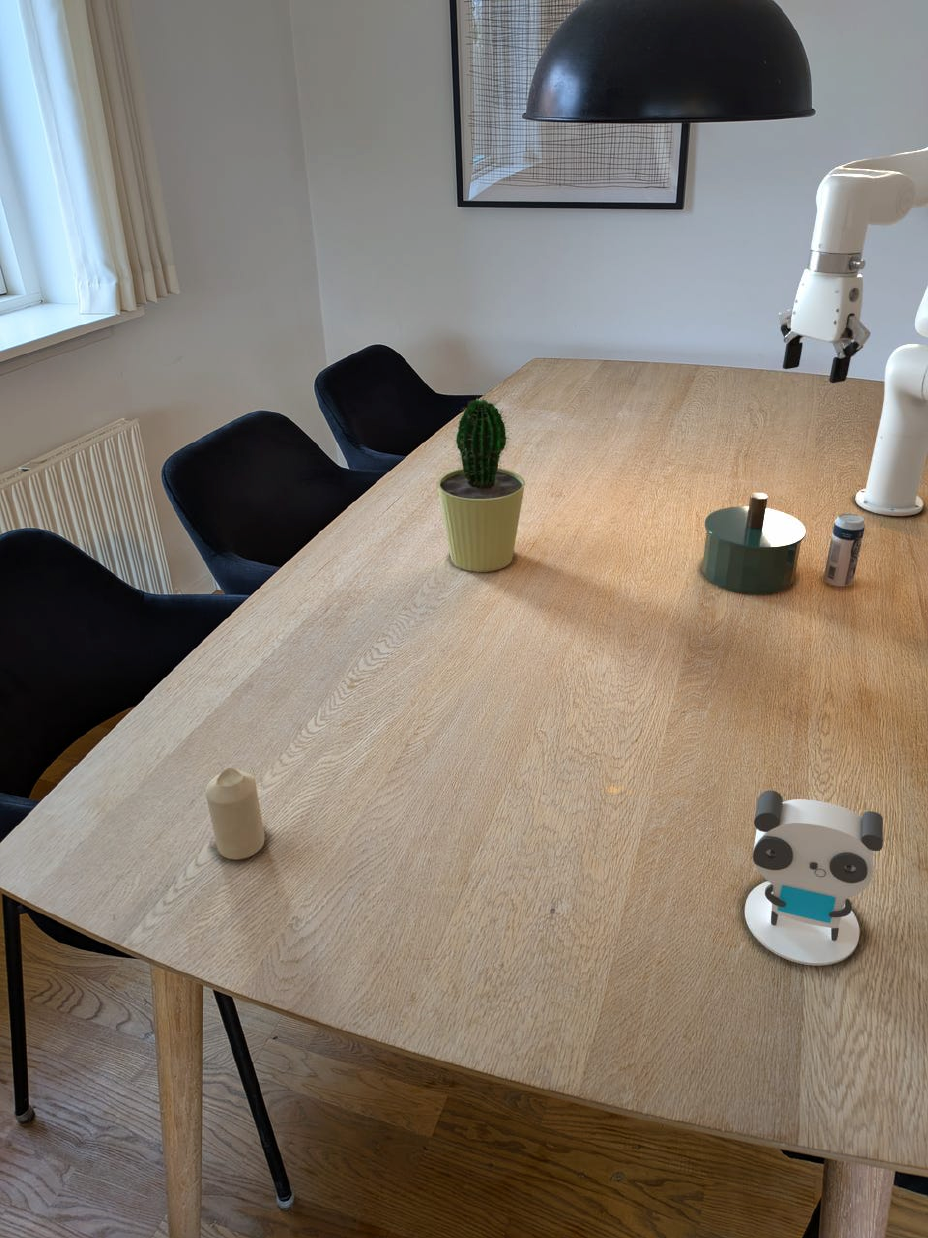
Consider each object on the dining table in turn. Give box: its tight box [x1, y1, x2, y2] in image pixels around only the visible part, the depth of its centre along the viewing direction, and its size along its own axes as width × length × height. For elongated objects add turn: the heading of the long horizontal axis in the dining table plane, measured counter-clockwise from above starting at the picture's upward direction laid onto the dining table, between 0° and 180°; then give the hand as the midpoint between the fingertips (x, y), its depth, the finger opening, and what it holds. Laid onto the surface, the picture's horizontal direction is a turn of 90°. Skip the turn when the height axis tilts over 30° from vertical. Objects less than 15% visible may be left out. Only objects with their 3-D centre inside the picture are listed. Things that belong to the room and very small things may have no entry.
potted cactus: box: [436, 394, 526, 573], centre depth 164 cm, size 15×15×30 cm
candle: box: [205, 767, 265, 861], centre depth 107 cm, size 6×6×10 cm
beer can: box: [823, 512, 866, 588], centre depth 159 cm, size 5×5×12 cm
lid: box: [704, 492, 806, 550], centre depth 159 cm, size 17×17×7 cm
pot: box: [701, 531, 802, 595], centre depth 163 cm, size 16×16×8 cm
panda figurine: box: [744, 790, 884, 967], centre depth 94 cm, size 12×11×15 cm
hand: (813, 374), depth 152 cm, fingers open, 9 cm apart
